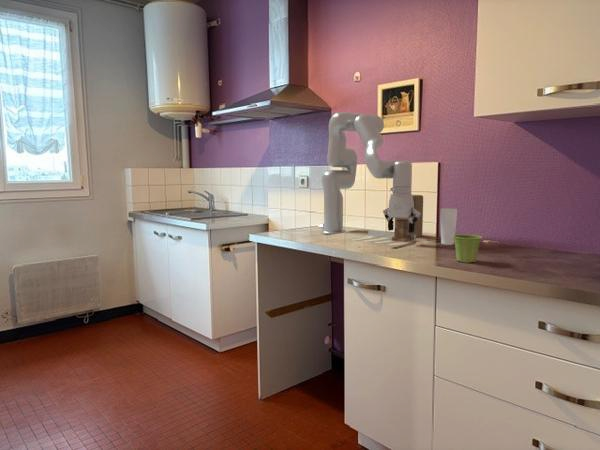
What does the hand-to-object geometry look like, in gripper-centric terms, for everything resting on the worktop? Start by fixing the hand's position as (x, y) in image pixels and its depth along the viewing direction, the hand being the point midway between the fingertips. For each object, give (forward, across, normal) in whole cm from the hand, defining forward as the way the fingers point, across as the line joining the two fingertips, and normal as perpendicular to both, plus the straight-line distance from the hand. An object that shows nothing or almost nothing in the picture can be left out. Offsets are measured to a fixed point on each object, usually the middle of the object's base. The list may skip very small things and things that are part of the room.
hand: (400, 231), depth 186 cm
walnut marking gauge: (+4, 0, 0) cm, 4 cm away
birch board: (+6, -7, -4) cm, 9 cm away
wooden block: (+6, -5, +15) cm, 17 cm away
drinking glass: (+6, +15, +12) cm, 20 cm away
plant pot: (+5, +35, -18) cm, 40 cm away
